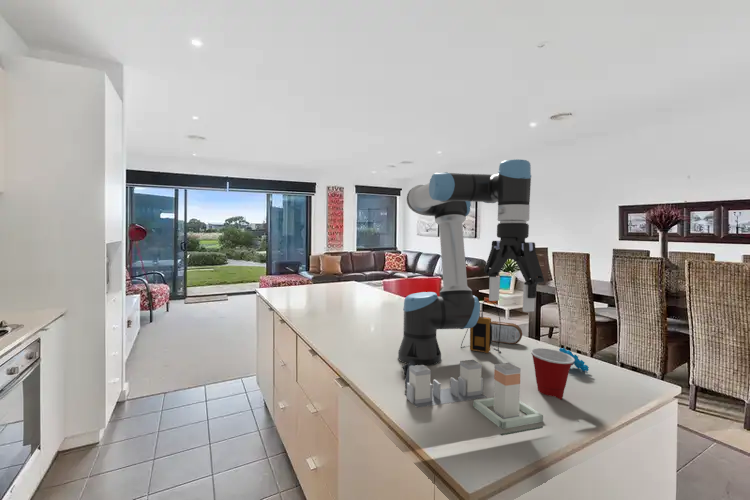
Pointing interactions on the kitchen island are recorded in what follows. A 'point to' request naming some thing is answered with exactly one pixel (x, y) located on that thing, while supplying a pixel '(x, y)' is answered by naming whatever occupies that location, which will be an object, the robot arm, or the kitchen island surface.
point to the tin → (506, 332)
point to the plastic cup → (551, 370)
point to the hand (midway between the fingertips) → (509, 305)
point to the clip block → (445, 393)
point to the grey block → (420, 383)
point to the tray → (509, 422)
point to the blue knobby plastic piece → (576, 360)
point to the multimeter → (482, 334)
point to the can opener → (407, 371)
